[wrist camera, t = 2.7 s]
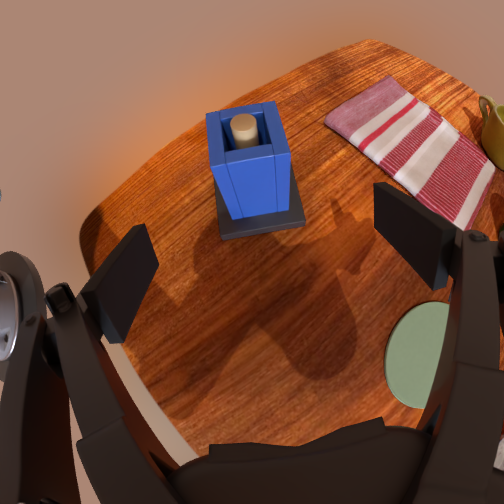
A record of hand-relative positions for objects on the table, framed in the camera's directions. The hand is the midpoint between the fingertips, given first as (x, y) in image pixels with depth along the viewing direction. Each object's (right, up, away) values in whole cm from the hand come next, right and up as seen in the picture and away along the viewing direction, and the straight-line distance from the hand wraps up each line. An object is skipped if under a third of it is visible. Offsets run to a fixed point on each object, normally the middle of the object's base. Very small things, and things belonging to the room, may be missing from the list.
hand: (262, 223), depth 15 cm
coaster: (+19, -13, +9) cm, 25 cm away
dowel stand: (0, +5, +16) cm, 17 cm away
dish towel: (+23, +13, +16) cm, 31 cm away
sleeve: (0, +5, +15) cm, 16 cm away
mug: (+40, +17, +16) cm, 46 cm away
